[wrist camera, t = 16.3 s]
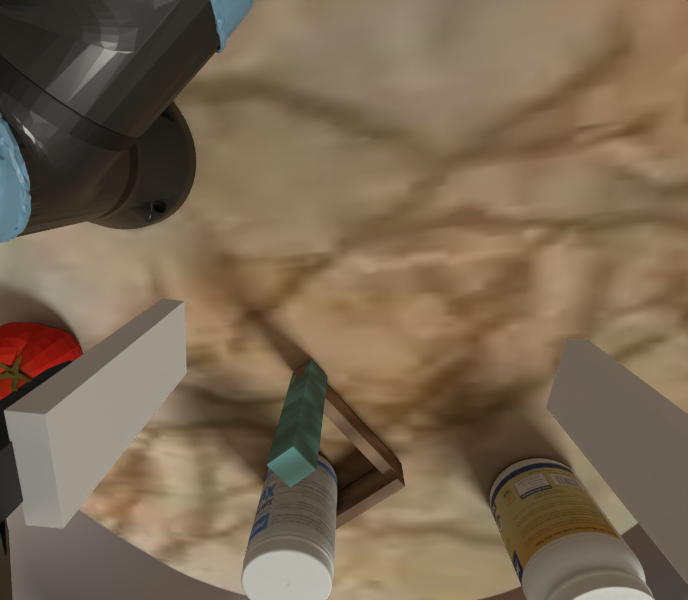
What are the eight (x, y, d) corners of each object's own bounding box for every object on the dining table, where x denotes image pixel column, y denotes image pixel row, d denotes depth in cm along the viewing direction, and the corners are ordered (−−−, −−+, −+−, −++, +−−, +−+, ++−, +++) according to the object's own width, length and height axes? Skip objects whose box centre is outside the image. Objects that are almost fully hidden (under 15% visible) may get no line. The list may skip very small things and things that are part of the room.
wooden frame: (405, 460, 53) (426, 578, 38) (296, 530, 58) (276, 661, 42) (311, 359, 49) (292, 446, 34) (200, 442, 53) (139, 554, 38)
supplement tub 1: (266, 445, 54) (236, 544, 40) (339, 448, 53) (334, 548, 39) (268, 504, 57) (241, 615, 43) (337, 507, 56) (332, 619, 43)
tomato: (100, 388, 51) (65, 419, 45) (13, 385, 52) (-33, 416, 45) (86, 315, 48) (47, 338, 42) (-6, 313, 48) (-58, 335, 42)
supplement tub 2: (467, 488, 55) (515, 622, 39) (543, 437, 52) (628, 558, 36) (522, 540, 58) (587, 685, 42) (596, 493, 55) (698, 630, 39)
